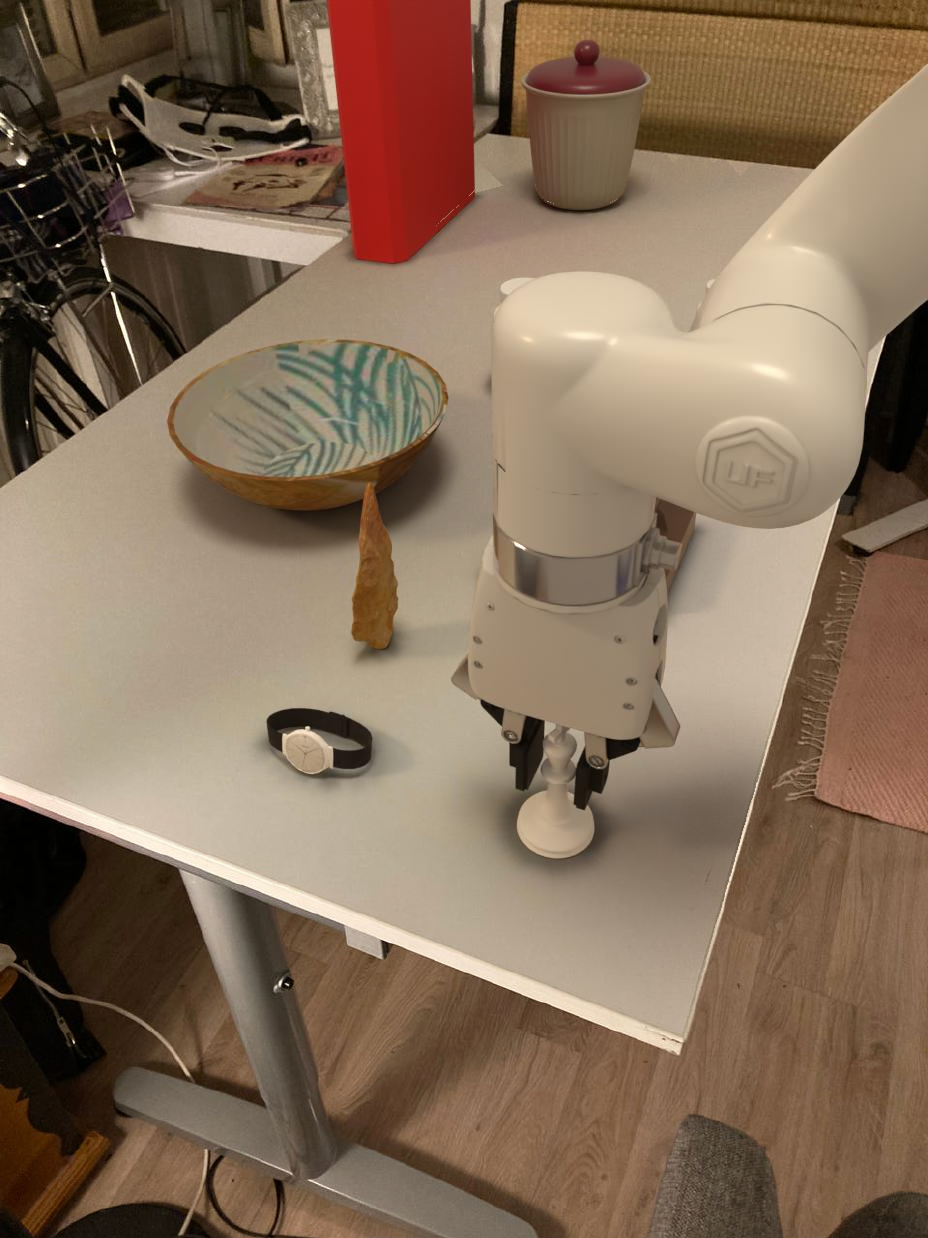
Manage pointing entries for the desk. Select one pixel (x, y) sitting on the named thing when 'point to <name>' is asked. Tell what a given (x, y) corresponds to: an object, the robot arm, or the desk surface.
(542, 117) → the canister
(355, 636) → the stone tool
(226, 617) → the desk surface
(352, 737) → the watch
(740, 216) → the desk surface
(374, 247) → the book
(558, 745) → the chess piece
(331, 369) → the bowl
